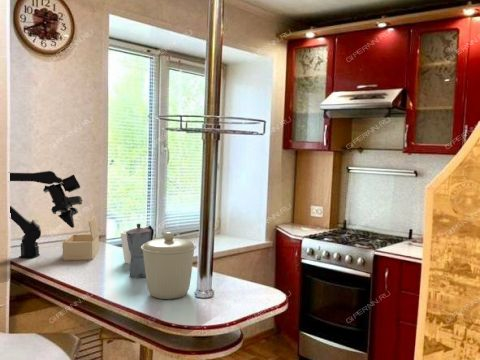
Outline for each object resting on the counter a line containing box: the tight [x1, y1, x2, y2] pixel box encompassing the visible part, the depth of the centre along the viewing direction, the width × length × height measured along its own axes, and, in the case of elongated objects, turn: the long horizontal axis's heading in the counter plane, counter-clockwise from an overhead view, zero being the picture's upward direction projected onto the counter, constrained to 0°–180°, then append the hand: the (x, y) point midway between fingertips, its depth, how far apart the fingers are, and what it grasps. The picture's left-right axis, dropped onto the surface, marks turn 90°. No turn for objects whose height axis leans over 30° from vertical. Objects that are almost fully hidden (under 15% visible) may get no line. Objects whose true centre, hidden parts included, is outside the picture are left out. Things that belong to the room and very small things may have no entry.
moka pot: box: [126, 223, 155, 279], centre depth 175 cm, size 10×15×20 cm, turn 158°
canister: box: [141, 231, 197, 300], centre depth 151 cm, size 18×18×21 cm
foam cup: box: [120, 229, 131, 265], centre depth 194 cm, size 10×9×13 cm
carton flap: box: [88, 215, 100, 240], centre depth 205 cm, size 8×16×1 cm
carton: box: [62, 233, 100, 262], centre depth 205 cm, size 12×19×8 cm, turn 9°
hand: (73, 227), depth 201 cm, fingers closed
